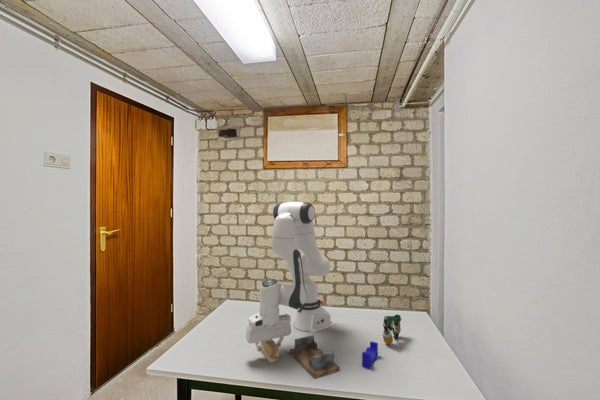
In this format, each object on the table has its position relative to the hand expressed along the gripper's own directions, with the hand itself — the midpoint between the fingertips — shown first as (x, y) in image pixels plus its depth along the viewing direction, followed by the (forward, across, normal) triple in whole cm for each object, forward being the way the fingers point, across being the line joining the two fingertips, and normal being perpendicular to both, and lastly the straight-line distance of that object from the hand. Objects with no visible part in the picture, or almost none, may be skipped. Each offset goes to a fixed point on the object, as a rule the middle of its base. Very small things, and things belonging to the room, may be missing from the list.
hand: (269, 348), depth 133 cm
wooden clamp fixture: (+3, -15, +13) cm, 20 cm away
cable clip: (+3, -36, +23) cm, 43 cm away
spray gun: (+3, -58, +15) cm, 60 cm away
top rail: (+3, 0, 0) cm, 3 cm away
